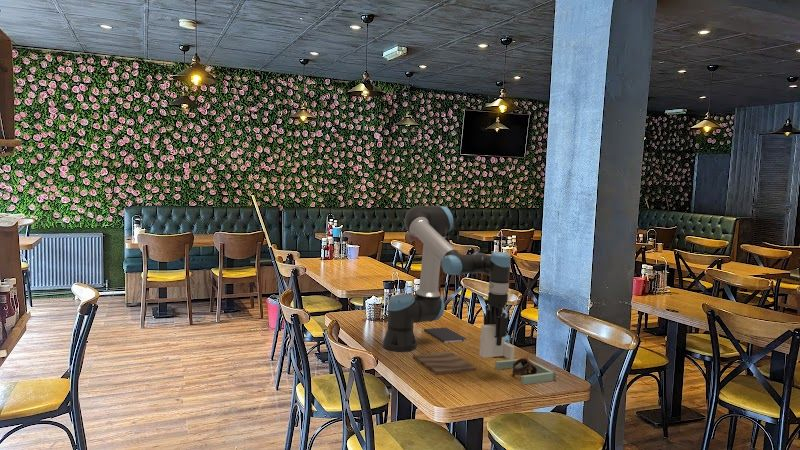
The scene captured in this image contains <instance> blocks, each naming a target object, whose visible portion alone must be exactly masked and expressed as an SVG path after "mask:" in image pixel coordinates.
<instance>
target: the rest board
mask: <svg viewBox="0 0 800 450" xmlns="http://www.w3.org/2000/svg"><path fill="white" fill-rule="evenodd" d="M412 359H414V360H415V361H416V362H418V363H419V364H420V365H422V366H424V368H426V369H427V370H429V371H431V372H432V373H434V374H435V375H436V376H440V375H448V374H456V373H458V374H459V373H463V372H464V373H465V372H473V371H474V372H475V371H477V367H476V366H475V365H473V364H471V363H469V361H468V362H467V361H466V360H465V359H463V358H461V357H460V356H458V355H456V354H454V353H453V352H452V351H442V352H441V351H440V352H439V351H438V352H431V353H428V352H427V353H421V354H419V353H418V354H412Z"/></svg>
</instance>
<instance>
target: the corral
mask: <svg viewBox="0 0 800 450" xmlns="http://www.w3.org/2000/svg"><path fill="white" fill-rule="evenodd" d="M518 359H519V358H516V359H515V358H514V360H510V359H507V360H496V361H495V364H494V365H495V367H494V369H495V370H497V371H498V370H499V371H500V370H505V369H513V368H512V367H513V363H514V362H515V361H517V360H518ZM529 361H531V362H532V363H534V365H535V366H536V369H537V372H538V374H525V375H524V374H523V375H521V376H520V384H521V385H524V386H525V385H532V384H538V383H546V382H554V381H556V379H557V372H555V371H553V370H552V369H549V368H547V367H545V366H543V365H542V364H540V363H537V362H536V361H533V360H531V359H529ZM521 367H523V366H522V364H521V363H519V364H517V365H516V366H515V368H521Z"/></svg>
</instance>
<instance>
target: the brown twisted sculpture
mask: <svg viewBox="0 0 800 450" xmlns="http://www.w3.org/2000/svg"><path fill="white" fill-rule="evenodd" d="M517 359H518V360H517V361H515V362H514V363H513V367H512V368H511V369H512V375H513V376H515V375H517V376H519V375H524V374H525V375H528V373H527V372H529V371H530V375H532V374H539V373H538V372H537V369H536V366H535V365H534V363H532V362H531V361H532V360H531V361H529V360H530V358H528V357H521V358H517ZM519 363H521V364H522V366H523V367H516V368H515V366H516V365H517V364H519Z"/></svg>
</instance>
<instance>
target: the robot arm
mask: <svg viewBox="0 0 800 450" xmlns="http://www.w3.org/2000/svg"><path fill="white" fill-rule="evenodd" d="M453 226H454V217H453V214H452V212H451V210H450V209H449V208H448V207H446V206H441V205H415V206H413V207H411V208H410V209H409V210H407V212H406V213H405V216H404V227H405V229H406V230H407V232H408V233H409V234H410V235H411V236H412V237H414V238H418V240H419V241H420V242H421V243H422V244H423V246H422V247H423V248H422V257H421V266H420V267H421V268H420V269H421V270H420V275H419V277H420V278H419V288H418V289H416V291H415V295H413V294H410V293H402V294H401V293H400V294H395V295H393V296H391V297H390V299H389V300H388V306H387V310H388V311H387V329H386V332H385V334H384V335H385V336H384V338H383V341H382V348H384V349H386V350H389V351H392V352H411V351H414V350H415V349H416V348H417V341H416V337H415V333H414V324H415V323H416V324H419V323H427V322H429V323H430V322H433V321H437V320H439V319H441V318H442V316H443V315H444V312H445V303H444V302H445V301H444V298H443V297H442V295H441V292H440V291H439V280H440V271H441V268H442V272H444V274H446V275H447V276H449V275H452V276H458V275H466V274H467V275H470V274H485V275H487V276H489V279H488V281H489V283H488V291H489V292H488V295H487V301H488V303H489V304H488V305H487V304H486V305H485V306H484V308H485V309H484V310H485V325H490V324H496V336H494V351H493V353H494V354H496V353H500V350H501V342H502V337H506V336H507V329H508V323H509V322H508V321H509V318H510V312H507V311H506V304H508V300H509V288H510V274H511V273H510V271H511V265H512V264H511V255H510V254H509V253H507V252H502V251H493V252H491V254H490V255H489V254H486V253H483V252H474V253H472V254H462V253H461V252H459V251H458V250H457V249H456V248H455V247H454V246H453V245H452V244H451V243H450V242H449V241H448V240H446V238H447V235H448V232H450V231H452V229H453Z"/></svg>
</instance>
